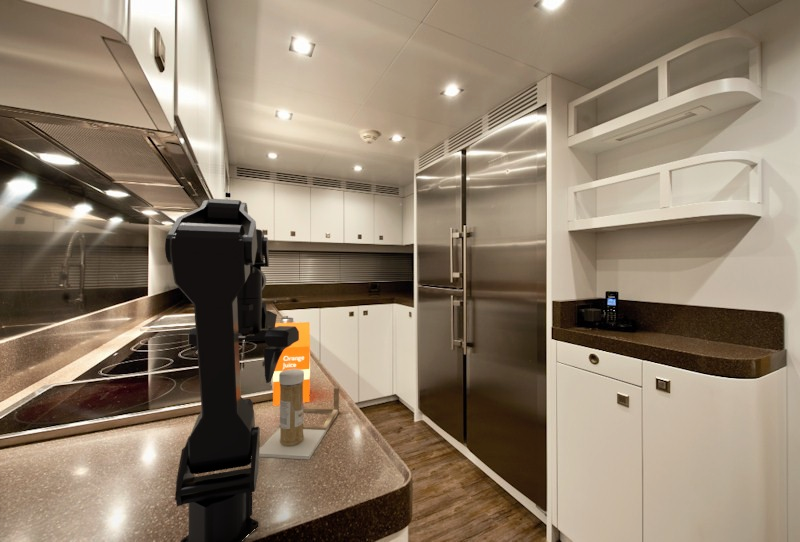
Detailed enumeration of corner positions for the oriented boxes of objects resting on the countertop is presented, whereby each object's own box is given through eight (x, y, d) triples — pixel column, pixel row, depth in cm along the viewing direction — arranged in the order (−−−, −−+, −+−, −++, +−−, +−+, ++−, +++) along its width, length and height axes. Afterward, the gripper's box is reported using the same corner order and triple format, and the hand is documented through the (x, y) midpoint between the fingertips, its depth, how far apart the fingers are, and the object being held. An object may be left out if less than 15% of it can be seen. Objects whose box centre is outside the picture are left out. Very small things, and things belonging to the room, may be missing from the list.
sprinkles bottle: (306, 442, 63) (306, 372, 63) (282, 449, 60) (282, 376, 60) (300, 432, 66) (300, 366, 66) (276, 438, 64) (276, 370, 64)
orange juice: (276, 394, 88) (276, 321, 88) (310, 391, 91) (310, 320, 91) (272, 406, 81) (273, 325, 81) (309, 402, 83) (309, 324, 83)
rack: (325, 432, 68) (325, 404, 68) (279, 430, 68) (279, 402, 68) (338, 412, 78) (339, 387, 78) (298, 410, 78) (298, 385, 78)
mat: (309, 459, 58) (309, 456, 58) (255, 456, 59) (255, 453, 59) (326, 431, 68) (326, 429, 68) (280, 429, 69) (280, 426, 69)
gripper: (309, 295, 68) (309, 369, 68) (224, 294, 70) (224, 367, 70) (286, 299, 57) (286, 389, 57) (186, 298, 58) (185, 385, 58)
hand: (245, 381), depth 61 cm, fingers open, 9 cm apart
